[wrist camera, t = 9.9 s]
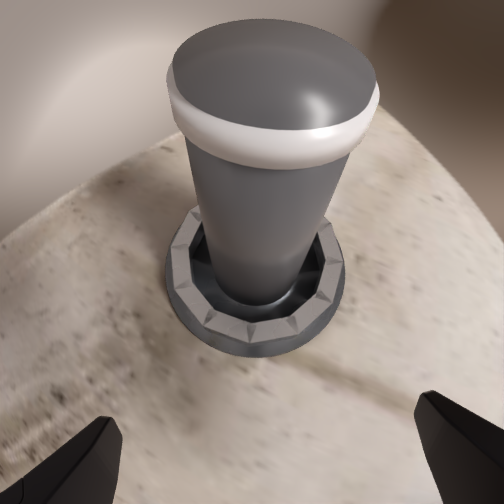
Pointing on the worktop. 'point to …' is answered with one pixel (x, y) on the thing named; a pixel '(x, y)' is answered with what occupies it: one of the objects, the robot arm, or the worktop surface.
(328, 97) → the grey cylinder
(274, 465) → the worktop surface
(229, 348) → the mount ring
